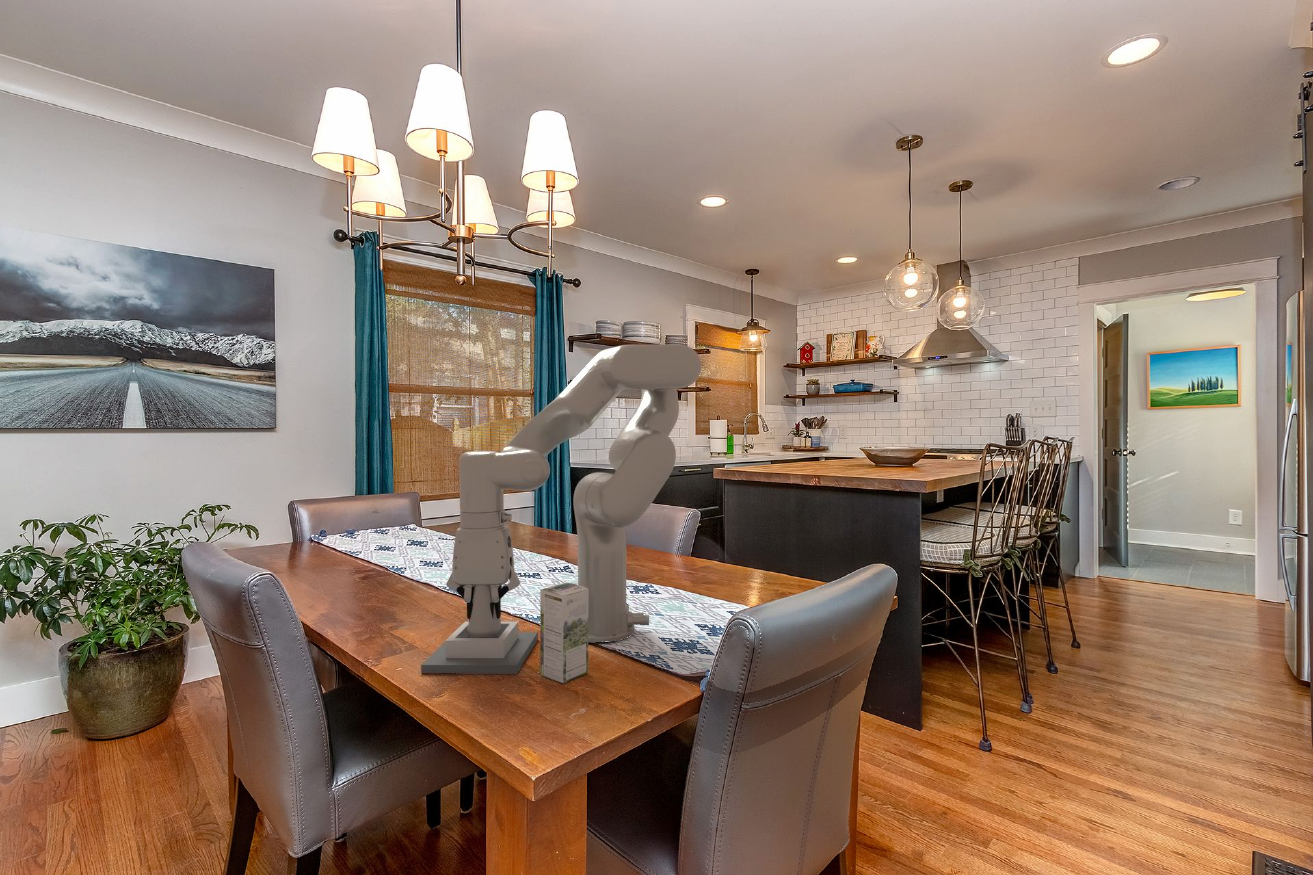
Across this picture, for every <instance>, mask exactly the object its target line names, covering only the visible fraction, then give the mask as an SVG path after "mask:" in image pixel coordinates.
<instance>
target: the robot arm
mask: <svg viewBox="0 0 1313 875" xmlns="http://www.w3.org/2000/svg"><path fill="white" fill-rule="evenodd" d="M700 358H701V357H700V356H699V354H698V352H696V351H695V350H694V349H693V348H692V347H691V346H688V345H686V344H683V343H676V344H675V343H671V344H669V343H668V344H665V343H664V344H622V345H618V346H613V347H609V348H605V349H602V350H600V351H599V352H598V353H597V354H595V355H594V356H593V357H592V358H591V360H589V362H587V364H586V365H585V366H584V367H583V368H582V369H581V370H580V371H579V373H578V374H577V375H576V376H575V377H574V378H573V380H571V381H570V383H569V384H568V385H566V387H565V388H564V389H563V391H562V390H561V392H560V393H559V394H558V395H557V396H556V397H555V398H554V400H552V401H551V402H549V404H547V405H545V407H544V408H543V409H542V410H541V411H539V413H537V414H536V415H535V416H534V417H533V418H532V419H531V420H529V421H528V422H526V424H525V425H523V426H522V427H521V428H520V430H519V431H518V432H517V433H515V435H514V436H513V437H512V438H511V439H510V440H509V441H508V442H507V443H506V445H505V446H503V448H502V449H501V450H500V452H499V451H496V450H474V451H473V450H472V451H466V452H463V453H461V454H460V456H459V459H458V460H459V461H458V465H459V466H458V469H459V471H458V473H459V474H458V476H459V478H458V479H459V519H460V520H459V521H460V522H459V523H460V524H459V525H460V526H459V527H458V528H457V529H456V532H455V536H454V543H453V544H454V545H453V550H452V551H453V552H452V564H451V565H452V568H451V570H452V572H451V574H449V578H448V579H447V581H446V584H445V585H446V587H447V588H448V589H450V590H452V591H454V592H457V594H458V595H460V597H461V598H463V601H464V603H466V619H468V621H469V623H470V618H471V614H472V608H473V602H472V601H473V591H474V585H491V594H492V601H493V602H491V603H490V610H491V614H492V618H493V616H494V606H495V612H496V617H497V619H499V618H500V619H501V618H502V604H501V602H502V600H501V599H502V598H503V597H504V596H505V595H506V594H507V593H508V592H511V591H513V590H514V589H516V588H518V587H519V586H520V585H521V580H520V578H519V577H518V574H517V573H516V571H515V560H514V559H515V558H514V551H513V550H514V548H513V542H512V536H511V531H510V526H508V525H505V524H506V523H507V522H512V520H513V515H512V513H508V512H506V510H505V508H504V506H505V504H504V499H505V497H504V490H509V491H510V490H511V491H523V492H524V491H525V492H526V491H528V492H529V491H530V492H531V491H534V490H537V489H539V488H541V487H542V486H543V485H545V483H546V482H547V481H548V479H549V478H550V477H549V476H550V473H551V467H550V462H549V461H548V459H547V458H546V457H547V456H548V455H549V454H550V453H551V452H552V451H553V450H555V449H556V447H557V448H558V446H560V445H561V444H562V443H564V442H566V441H568V440H570V439H572V438H574V437H577V436H579V435H580V434H582V433H584V432H585V431H587V430H588V429H590V428H591V427H592V425H594V423H595V422H596V421H597V420H598V419H599V417H601V415H602V414H603V413H604V412H605V411H606V410H607V409H608V407H609V406H610V405H611V404H612V403H613V402H614V400H615V399H616V398H617V397H618V395H620V394H621V392H622V391H628V390H640V392H641V395H640V396H641V398H640V402H639V404H638V406H637V407H636V410H635V412H633V414H632V415H631V417H630V419H629V420H628V421H627V423H626V424H625V425H624V427H623V428H622V430H620V433H619V434H618V435H617V436H616V438H615V439H614V440H613V442H612V444H611V446H610V448H609V451H608V460H609V464H610V466H611V467H612V469H614V471H615V472H614V473H609V472H603V471H602V472H598V471H597V472H592V473H590V474H587V475H585V476H584V477H583V478H582V479H581V480H579V481H578V483H577V485H576V487H575V490H574V492H573V493H574V494H573V499H572V500H573V511H574V518H575V523H576V532H577V533H576V534H577V585H580V586H583V587H585V588H587V589H588V590H589V596H588V643H592V644H594V643H595V642H602V641H603V642H605V641H615V642H619V641H618V640H620V641H622V640H621V639H623V640H625V638H626V639H628V638H629V636H630V637H631V636H633V635H634V633H635V625H638V626H650V615H649V614H645V613H644V612H633V611H631V610H630V605H629V604H628V605H627V539H626V531H625V528H628V527H630V526H633V525H635V524H636V523H637V522H638V521H639V520H640V519H641V518H642V517H643V516H644V515H645V513H646V512H647V510H648V509H649V507H650V506H651V505H652V503H653V501H654V500H655V499H656V497H657V495H658V494H659V493H660V491H661V489H662V488H663V486H664V485H665V484H666V482H667V480H668V479H669V477H670V476H671V474H672V473H673V470H674V467H675V464H676V458H677V451H676V450H677V449H676V446H675V444H674V442H673V440H672V439H671V438H670V437H669V436H670V435H671V432H672V431H673V429H674V427H675V425H676V423H677V422H678V419H679V414H680V413H679V412H680V404H679V398H678V397H679V396H678V391H677V389H683V388H684V389H685V388H687V387H690V386H692V385H693V384H694V383H695V382H696V381H697V380H698V379H699V376H700V375H701V371H702V361H701V359H700ZM627 637H628V638H627ZM595 644H596V643H595Z"/></svg>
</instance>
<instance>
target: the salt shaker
mask: <svg viewBox="0 0 1313 875" xmlns="http://www.w3.org/2000/svg"><path fill="white" fill-rule="evenodd" d="M472 602H473V608H472V614H471V618H470V623H468V632H469V634H470V636H471V637H472V638H497V635H498V633H499V631H500V629H501V622H502V621H501V617H500V618H499V619H497V617H496V612H495V606H494V616H493V618H492V614H491V610H490V603H491V602H493V601H492V594H491V585H474V591H473V601H472Z"/></svg>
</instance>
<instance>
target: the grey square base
mask: <svg viewBox="0 0 1313 875" xmlns="http://www.w3.org/2000/svg"><path fill="white" fill-rule="evenodd" d="M468 623H469V620H468V621H464V622H463V623H462V624H461V625H460V626H458V628H457V629H456V630H454V632H453V633H452V634H450V635H449V636H448V637H447V639H446V640H445V641H444V642H443V643H441V645H440V646H439V647H438V648H437V649H436V650H434V651H433V652H432V654H431V655H429V657H428V658H427V659H426V660H424V662H422V663H421V664H420V670H421V671H420V674H421V673H452V674H451V675H518V673H519V671H520V670H521V668H522V667H523V665H524V663H525V662H526V660H527V658H528V657H529V655H530V653H531V652H532V650H533V648H534V647H535V646H536V643H537V642H538V641H539V631H519V621H501V629H500V631H499V633H498V635H497V638H472V637H471V636H470V634H469V632H468ZM453 673H454V674H453ZM455 673H456V674H455Z"/></svg>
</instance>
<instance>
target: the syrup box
mask: <svg viewBox="0 0 1313 875" xmlns="http://www.w3.org/2000/svg"><path fill="white" fill-rule="evenodd" d="M539 594H540V595H539V596H540V598H539V599H540V600H539V601H540V603H539V604H540V609H539V612H540V616H539V617H540V626H539V627H540V628H539V629H540V630H539V632H540V633H539V634H540V638H539V639H540V641H539V642H540V644H539V645H540V646H539V648H540V652H539V653H540V654H539V655H540V659H539V662H540V666H539V667H540V670H539V674H540V675H541V676H542V677H546V678H547V679H551V680H553V681H556V682H558V683H561V684H565V683H568V682H570V681H573V680H574V679H576V678H579V677H580V676H583V675H586V674H587V673H589V642H588V596H589V590H588V589H587V588H585V587H583V586H580V585H578V583H573V582H564V583H560V584H556V585H553V586H549V587H546V588H542V589H540V592H539Z"/></svg>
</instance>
